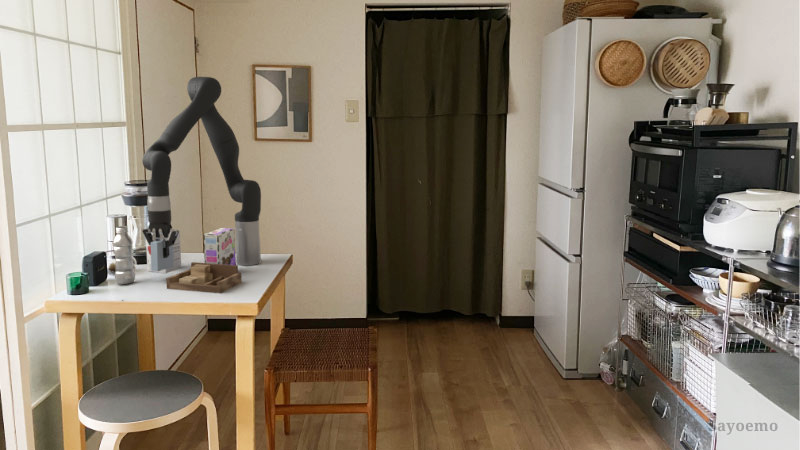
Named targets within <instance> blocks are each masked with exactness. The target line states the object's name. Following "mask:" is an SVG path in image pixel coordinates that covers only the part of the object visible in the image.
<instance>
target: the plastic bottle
mask: <svg viewBox="0 0 800 450" xmlns="http://www.w3.org/2000/svg"><path fill="white" fill-rule="evenodd" d="M128 232H129V231H128V226H126V225H125V226H124V225H123V226H121V225H120V226H116V227H115V236H114V238H113V239H112V248H113V251H114V258H115V259H114V260H115V271H114V279H115V282H116V283H117V284H118V285H127V284H128V285H129V284H131V283H133V282H135V279H136V272H135V268H134V263H133V262H134V261H133V242H134V241H133V239H132V237H131V236H130V235H129V233H128Z"/></svg>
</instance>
